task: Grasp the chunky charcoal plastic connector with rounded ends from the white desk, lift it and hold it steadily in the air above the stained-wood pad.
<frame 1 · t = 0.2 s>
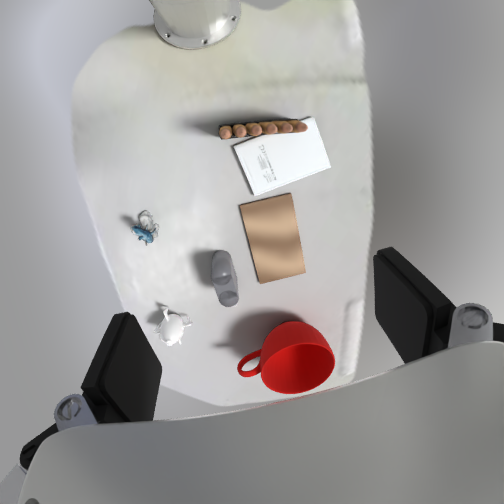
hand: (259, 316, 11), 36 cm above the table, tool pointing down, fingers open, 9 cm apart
ammunition clip: (256, 127, 42), on the table
ceramic cup: (278, 335, 58), on the table
wood pad: (274, 239, 49), on the table
sculpture: (149, 223, 47), on the table
connector: (225, 269, 51), on the table
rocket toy: (174, 317, 55), on the table
external hard drive: (282, 155, 45), on the table
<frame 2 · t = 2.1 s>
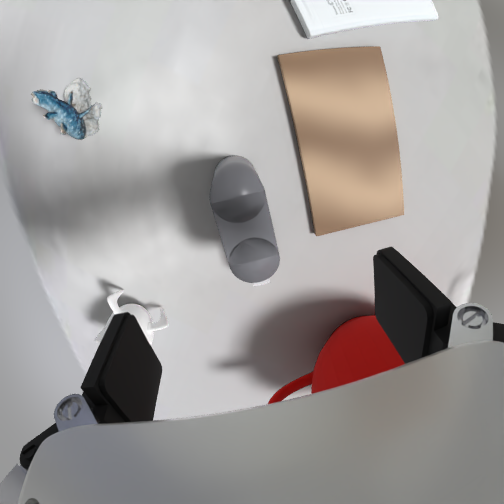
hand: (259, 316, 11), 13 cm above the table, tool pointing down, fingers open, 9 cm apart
ceramic cup: (338, 343, 30), on the table
wood pad: (348, 138, 21), on the table
sculpture: (86, 107, 19), on the table
connector: (241, 201, 23), on the table
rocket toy: (137, 311, 27), on the table
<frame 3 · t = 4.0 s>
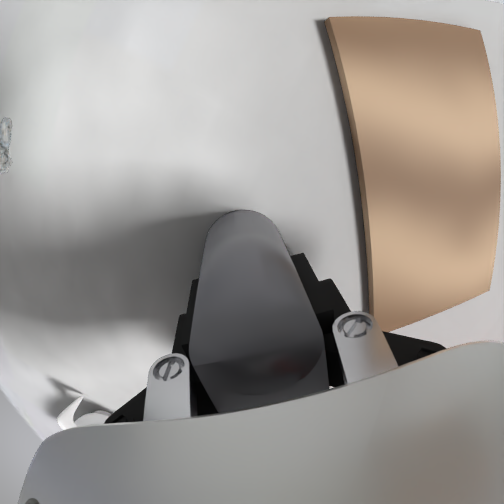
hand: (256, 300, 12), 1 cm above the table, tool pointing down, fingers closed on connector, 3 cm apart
wood pad: (438, 178, 11), on the table
connector: (255, 290, 13), on the table, touching gripper
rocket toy: (106, 415, 16), on the table
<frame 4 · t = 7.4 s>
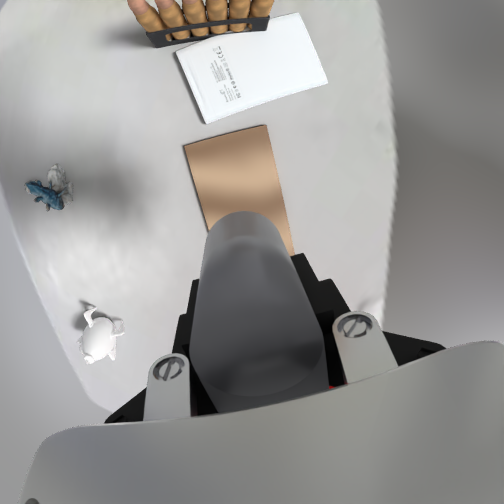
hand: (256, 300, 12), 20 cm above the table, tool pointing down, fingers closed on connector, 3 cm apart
ammunition clip: (209, 31, 24), on the table
wood pad: (242, 201, 31), on the table
sculpture: (63, 183, 29), on the table
connector: (255, 290, 13), point 19 cm above the table, touching gripper
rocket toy: (107, 322, 36), on the table
external hard drive: (251, 66, 26), on the table
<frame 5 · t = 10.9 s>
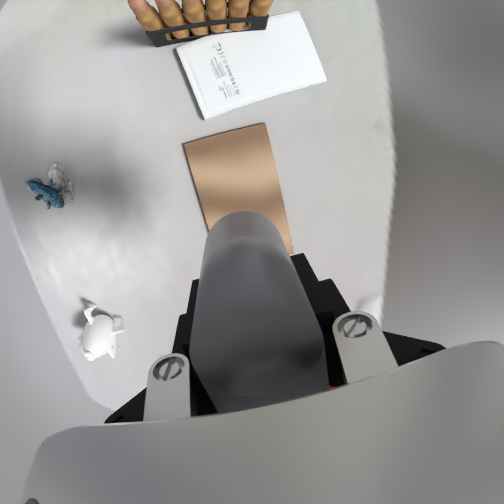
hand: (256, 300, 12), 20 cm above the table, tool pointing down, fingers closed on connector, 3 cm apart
ammunition clip: (209, 30, 24), on the table
wood pad: (241, 199, 31), on the table
sculpture: (63, 182, 29), on the table
connector: (255, 290, 13), point 19 cm above the table, touching gripper
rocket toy: (107, 319, 36), on the table
external hard drive: (251, 63, 26), on the table
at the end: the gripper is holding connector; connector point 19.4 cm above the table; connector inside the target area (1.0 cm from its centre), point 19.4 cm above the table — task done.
